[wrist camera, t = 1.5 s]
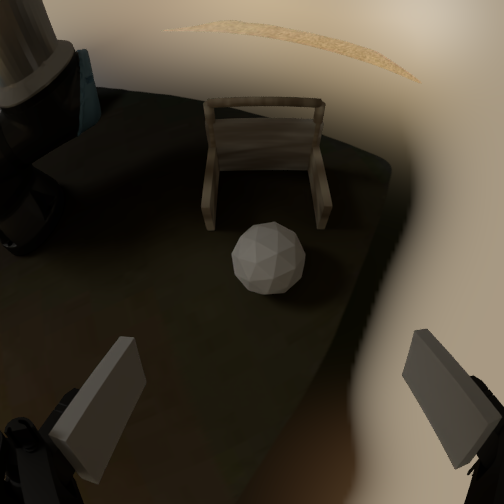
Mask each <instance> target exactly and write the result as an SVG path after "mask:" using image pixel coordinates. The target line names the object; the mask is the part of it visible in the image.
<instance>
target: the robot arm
mask: <svg viewBox="0 0 504 504" xmlns="http://www.w3.org/2000/svg"><path fill="white" fill-rule="evenodd" d="M100 117H101V108H100V103H99V99H98V94H97V90H96V86H95V82H94V79H93V73H92V68H91V63H90V59H89V55H88V51H87V50H86V49H82V50H77V51H76V52H75V49H74V47H73V45H72V43H70V42H69V41H65V40H57V38H56V36H55V34H54V31H53V28H52V26H51V23H50V21H49V18H48V15H47V13H46V10H45V7H44V5H43V2H42V0H0V242H1V243H2V245H3V246H4V247H5V248H6V249H7V250H8V251H10V252H11V253H12V254H14V255H25V254H28V253H30V252H32V251H33V250H35V249H36V248H37V247H39V246H40V245H41V244H42V243H43V242H44V241H45V240H46V239H47V238H48V237H49V235H50V234H51V233H52V231H53V230H54V228H55V227H56V225H57V223H58V221H59V219H60V217H61V214H62V212H63V208H64V203H65V196H64V192H63V190H62V188H61V187H60V185H59V184H58V183H57V181H56V180H54V179H53V178H52V177H50V176H48V175H47V174H45V173H43V172H42V171H40V170H39V169H37V168H35V167H34V166H33V165H32V163H33V162H35V161H36V160H38V159H39V158H41V157H42V156H44V155H46V154H47V153H49V152H51V151H52V150H54V149H56V148H57V147H59V146H61V145H62V144H64V143H66V142H68V141H69V140H71V139H73V138H75V137H78V136H79V135H81V133H82V132H84V131H86V130H87V129H89V128H91V127H92V126H94V125H95V124H96V123H97V122H98V121H99V119H100ZM402 376H403V378H404V379H405V381H406V383H407V384H408V386H409V387H410V389H411V391H412V393H413V394H414V396H415V398H416V399H417V401H418V403H419V405H420V406H421V408H422V410H423V411H424V413H425V415H426V417H427V418H428V420H429V422H430V424H431V425H432V427H433V429H434V431H435V433H436V434H437V436H438V438H439V440H440V442H441V444H442V446H443V447H444V449H445V451H446V453H447V455H448V457H449V459H450V461H451V463H452V465H453V466H454V469H457V468H460V467H462V466H464V465H466V464H468V463H470V461H471V460H472V459H473V458H474V456H475V455H476V454H477V456H478V458H479V459H478V460H477V462H476V463H475V464H474V465H473V466H472V468H471V469H470V470H469V471H468V473H467V475H469V474H470V473H471V472H472V471H473V470H474V472H473V475H472V480H471V483H470V487H469V490H468V493H467V496H466V500H465V503H464V504H504V407H503V405H502V404H501V403H500V402H499V401H498V399H497V398H496V397H495V396H494V395H493V393H492V392H491V391H490V390H488V387H487V386H486V385H485V384H484V383H483V382H482V380H480V379H478V378H476V377H475V376H469V375H468V374H467V373H466V372H465V370H464V369H463V368H462V367H461V366H460V365H459V363H458V362H457V361H456V360H455V359H454V358H453V357H452V355H451V354H450V353H449V352H448V351H447V350H446V349H445V348H444V347H443V346H442V344H441V343H440V342H439V341H438V340H437V339H436V338H435V337H434V336H433V335H432V333H431V332H430V331H429V330H428V329H422V330H415V331H414V334H413V338H412V342H411V346H410V350H409V353H408V357H407V360H406V363H405V367H404V370H403V373H402ZM145 384H146V379H145V375H144V372H143V368H142V365H141V361H140V357H139V354H138V350H137V346H136V342H135V338H133V337H123V336H120V337H119V339H118V340H117V341H116V343H115V344H114V345H113V346H112V348H111V349H110V350H109V352H108V353H107V354H106V356H105V357H104V358H103V359H102V361H101V362H100V363H99V365H98V366H97V367H96V369H95V370H94V371H93V373H92V374H91V375H90V377H89V378H88V379H87V381H86V382H85V384H84V385H83V386H82V388H81V389H76V388H74V389H72V390H71V391H69V392H68V393H67V394H65V395H64V397H63V398H62V399H61V401H60V402H59V404H58V405H57V406H56V407H55V410H53V411H52V413H51V414H50V416H49V417H48V418H47V420H46V421H45V422H44V424H43V425H42V427H41V428H40V429H39V431H38V430H37V429H36V427H35V426H34V424H33V423H32V422H31V421H30V420H29V419H27V418H24V417H18V418H15V419H13V420H11V421H10V422H9V423H8V424H7V426H6V427H5V432H4V433H5V434H6V435H7V437H8V438H5V436H4V435H3V434H2V432H1V431H0V504H84V503H83V500H82V497H81V495H80V492H79V489H78V487H77V484H76V481H75V479H74V478H73V474H74V472H75V471H76V472H77V473H78V474H79V476H80V477H81V478H82V479H85V480H88V481H90V482H93V483H96V484H99V481H100V479H101V477H102V475H103V473H104V470H105V468H106V466H107V464H108V462H109V459H110V457H111V455H112V453H113V451H114V448H115V446H116V444H117V442H118V440H119V438H120V436H121V434H122V431H123V429H124V427H125V425H126V423H127V421H128V419H129V417H130V415H131V413H132V411H133V409H134V407H135V405H136V402H137V400H138V398H139V396H140V394H141V392H142V390H143V388H144V386H145ZM5 475H6V479H5ZM4 479H5V480H4Z"/></svg>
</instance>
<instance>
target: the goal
mask: <svg viewBox="0 0 504 504" xmlns="http://www.w3.org/2000/svg"><path fill="white" fill-rule="evenodd" d="M203 106H204V112H205V119H206V122H205V128H206V134H207V140H208V145H209V149H208V156H207V163H206V170H205V178H204V186H203V194H202V203H201V210H202V213H203V217H204V221H205V224H206V228H207V231H210V230H215V222H216V208H217V196H218V184H219V172H220V171H235V170H308V175H309V181H310V187H311V193H312V199H313V205H314V212H315V218H316V225H317V229H325V226H326V224H327V221H328V218H329V215H330V212H331V210H332V207H333V206H332V201H331V196H330V191H329V187H328V182H327V177H326V173H325V169H324V164H323V160H322V156H321V152H320V148H319V145H320V140H321V135H322V130H323V116H324V110H325V103H324V102H322V100H321V99H316V98H298V97H233V98H232V97H231V98H213V99H208V100H207V101H206V102H204V103H203ZM238 106H294V107H295V106H296V107H314V108H315V113H314V119H296V118H238V119H216V120H215V115H214V108H217V107H238Z"/></svg>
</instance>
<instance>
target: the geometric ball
mask: <svg viewBox="0 0 504 504" xmlns="http://www.w3.org/2000/svg"><path fill="white" fill-rule="evenodd" d="M305 255H306V254H305V252H304V250H303V248H302V245H301V243H300V241H299V239H298V237H297V235H296V233H295V232H293V231H291V230H289V229H287V228H286V227H284V226H282V225H280V224H278V223H276V222H270V223H264V224H258V225H253V226H252V227H251V228H249V229H248V230H247V231H246V232H245V233H244V234H243V235H242V236H240V238H239V240H238V242H237V244H236V246H235V248H234V250H233V252H232V260H233V266H234V272H235V275H236V276H237V278H238V279H239V280H240V281H241V282H242V283H243V285H244V286H245V287H246V288H247V289H248V290H249V291H252V292H256V293H259V294H263V295H265V294H277V293H285V292H286V291H287V290H288V289H289V288H291V287H292V286H293V285H294V284H295V283H296V282H297V281H298V280H299V279H300V278H301V277H302V272H303V268H304V263H305Z"/></svg>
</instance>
